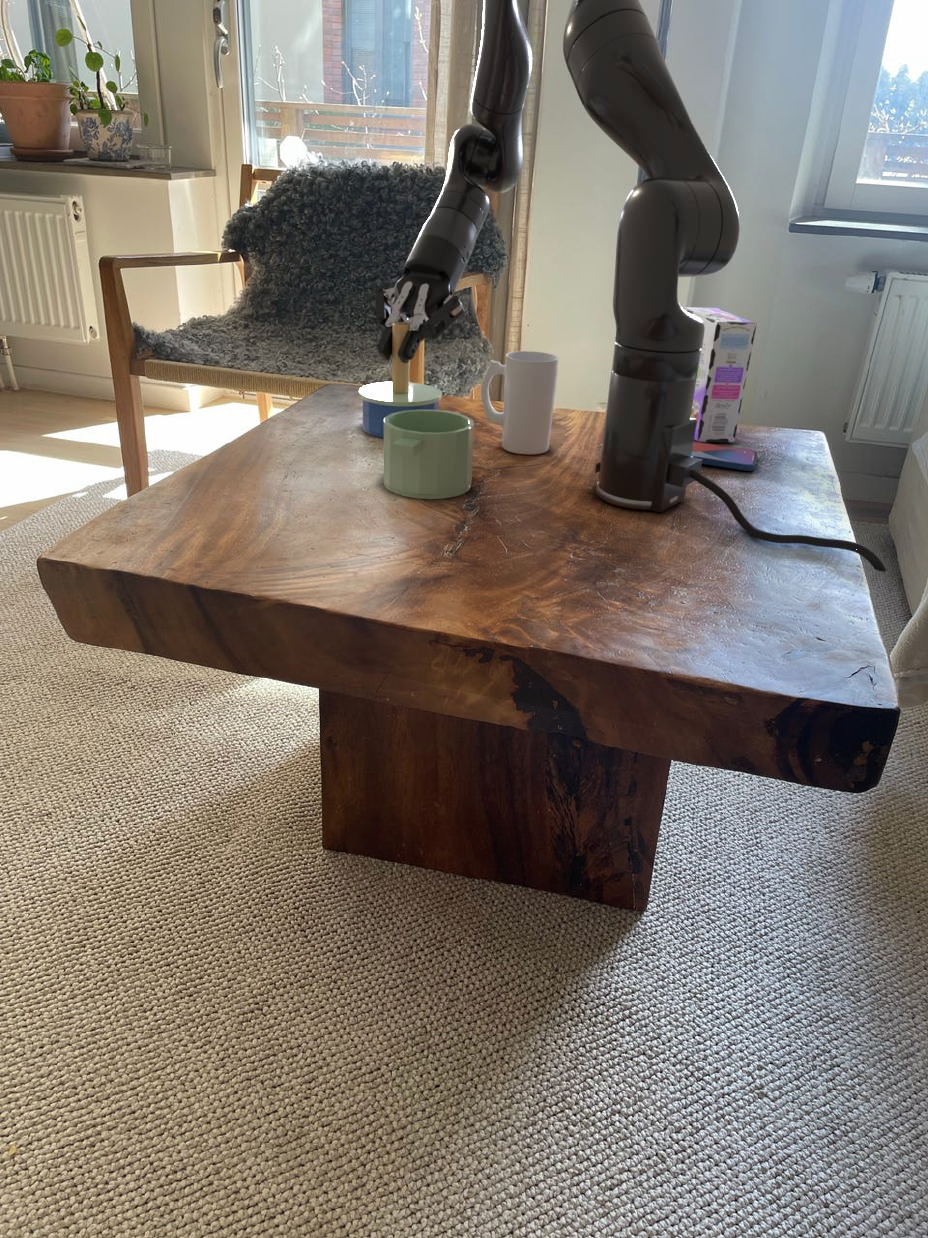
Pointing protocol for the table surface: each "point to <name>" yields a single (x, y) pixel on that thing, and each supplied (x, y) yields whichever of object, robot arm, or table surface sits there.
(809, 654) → the table surface
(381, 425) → the pan
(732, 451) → the smartphone
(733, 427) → the candy box
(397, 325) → the lid
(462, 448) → the pot
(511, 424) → the mug
